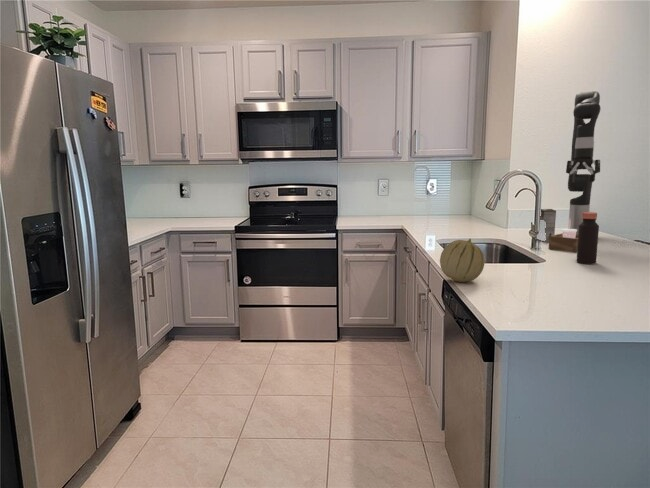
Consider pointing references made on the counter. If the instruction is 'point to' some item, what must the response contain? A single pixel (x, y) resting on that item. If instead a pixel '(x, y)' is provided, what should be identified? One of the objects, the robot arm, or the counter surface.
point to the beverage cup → (569, 232)
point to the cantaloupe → (462, 261)
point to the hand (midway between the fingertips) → (581, 182)
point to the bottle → (588, 239)
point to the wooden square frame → (563, 243)
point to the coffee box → (549, 222)
